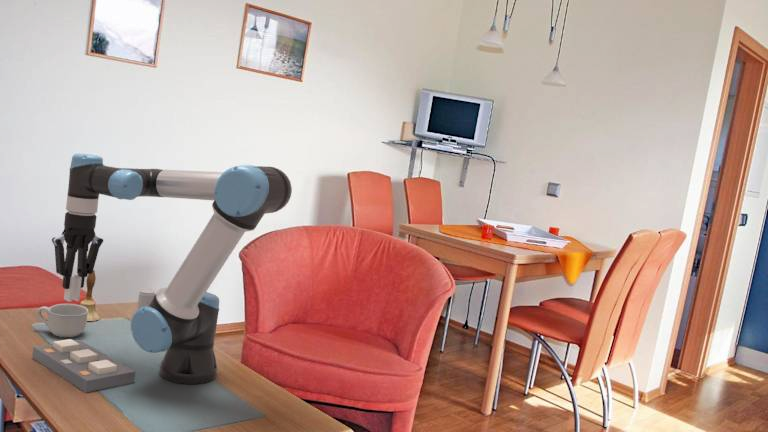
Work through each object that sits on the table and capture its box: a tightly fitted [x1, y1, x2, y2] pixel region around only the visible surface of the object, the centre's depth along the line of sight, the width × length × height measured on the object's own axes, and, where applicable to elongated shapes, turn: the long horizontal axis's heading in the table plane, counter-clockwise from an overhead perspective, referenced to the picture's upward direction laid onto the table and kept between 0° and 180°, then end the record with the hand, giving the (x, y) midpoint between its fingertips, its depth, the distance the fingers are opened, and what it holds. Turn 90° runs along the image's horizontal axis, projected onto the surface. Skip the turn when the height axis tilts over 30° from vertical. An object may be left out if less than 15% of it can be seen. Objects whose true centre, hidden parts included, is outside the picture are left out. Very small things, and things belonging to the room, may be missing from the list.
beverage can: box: [136, 288, 156, 311], centre depth 218 cm, size 5×5×12 cm
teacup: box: [36, 303, 88, 338], centre depth 200 cm, size 14×11×8 cm
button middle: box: [70, 349, 98, 364], centre depth 176 cm, size 5×5×2 cm
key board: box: [32, 339, 136, 394], centre depth 176 cm, size 27×13×3 cm, turn 52°
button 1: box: [52, 338, 80, 353], centre depth 181 cm, size 5×5×2 cm
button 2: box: [88, 360, 117, 375], centre depth 171 cm, size 5×5×2 cm
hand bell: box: [79, 269, 101, 322], centre depth 218 cm, size 8×8×16 cm
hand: (71, 299), depth 180 cm, fingers closed
